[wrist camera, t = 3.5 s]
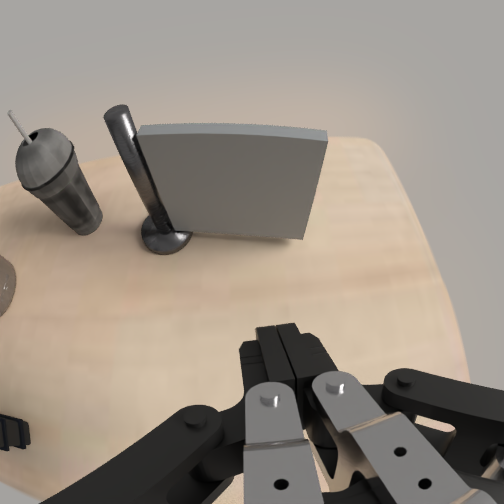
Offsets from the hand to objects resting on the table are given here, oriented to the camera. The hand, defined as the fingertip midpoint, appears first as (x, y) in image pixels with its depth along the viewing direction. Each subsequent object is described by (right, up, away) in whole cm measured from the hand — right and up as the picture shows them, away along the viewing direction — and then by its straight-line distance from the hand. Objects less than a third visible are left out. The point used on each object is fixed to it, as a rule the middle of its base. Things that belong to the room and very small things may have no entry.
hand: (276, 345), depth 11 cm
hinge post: (-11, +6, +23) cm, 26 cm away
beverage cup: (-23, +8, +24) cm, 34 cm away
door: (-2, +7, +21) cm, 23 cm away
